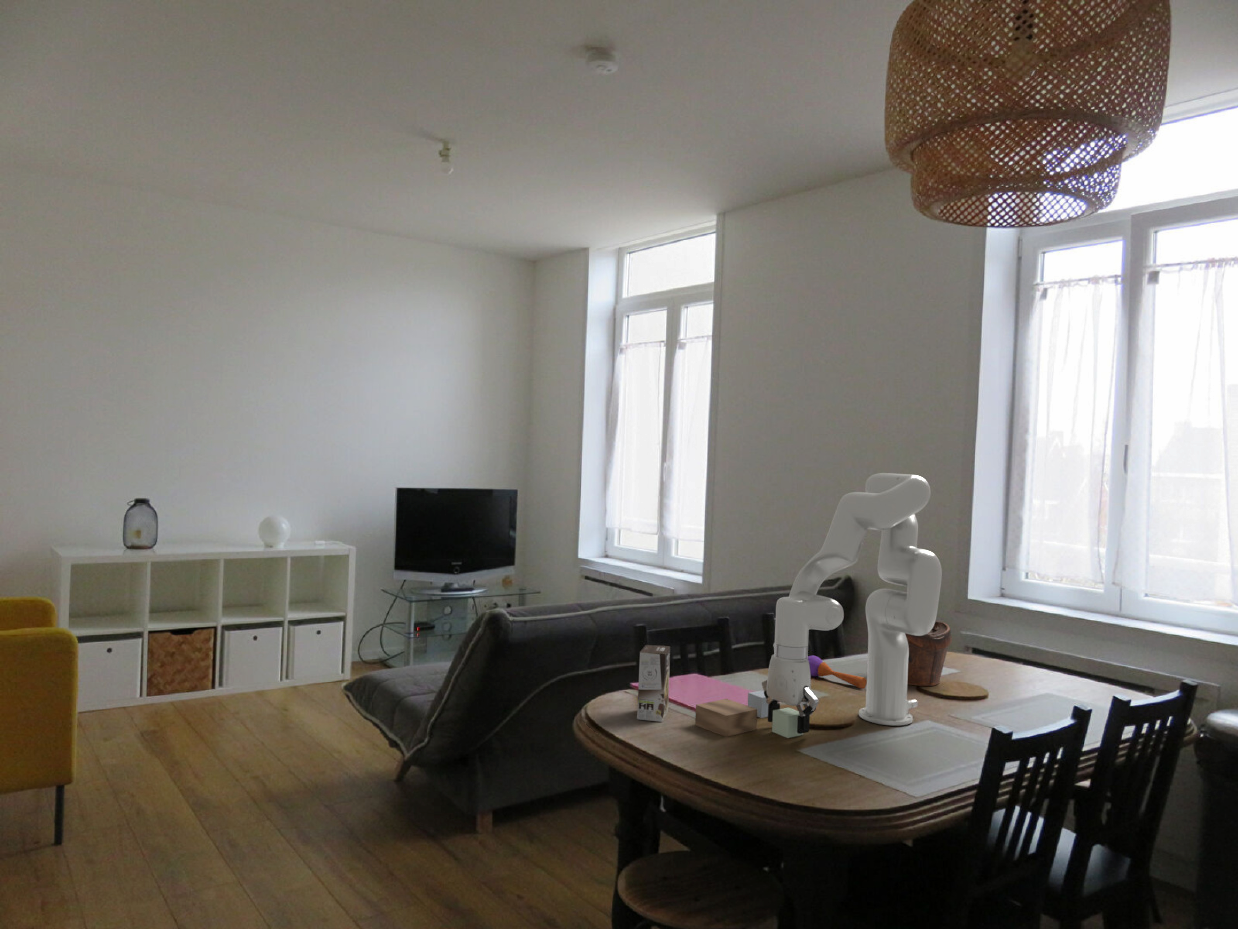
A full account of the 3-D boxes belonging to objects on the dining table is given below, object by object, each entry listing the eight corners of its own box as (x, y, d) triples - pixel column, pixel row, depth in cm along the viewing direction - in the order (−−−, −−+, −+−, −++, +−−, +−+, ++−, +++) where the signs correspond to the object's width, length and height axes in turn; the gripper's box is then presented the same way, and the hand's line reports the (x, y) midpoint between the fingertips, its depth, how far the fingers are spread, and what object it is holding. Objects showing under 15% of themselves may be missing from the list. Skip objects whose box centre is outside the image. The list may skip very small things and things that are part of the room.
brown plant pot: (957, 678, 260) (958, 617, 260) (941, 693, 243) (943, 628, 243) (895, 669, 270) (897, 610, 269) (876, 683, 253) (877, 620, 253)
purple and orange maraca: (856, 677, 243) (798, 656, 258) (856, 697, 244) (798, 676, 259) (869, 670, 246) (811, 650, 261) (869, 690, 248) (811, 669, 263)
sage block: (787, 729, 207) (788, 707, 207) (803, 735, 203) (804, 713, 202) (772, 732, 204) (772, 710, 204) (787, 738, 200) (788, 716, 200)
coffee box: (663, 722, 208) (665, 653, 208) (636, 720, 209) (638, 651, 209) (669, 711, 217) (671, 645, 216) (643, 709, 218) (645, 643, 218)
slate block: (762, 710, 221) (763, 690, 221) (776, 715, 217) (777, 695, 217) (747, 713, 218) (748, 692, 218) (761, 718, 214) (762, 697, 214)
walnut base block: (725, 719, 213) (726, 698, 213) (756, 730, 205) (757, 709, 205) (695, 726, 207) (695, 704, 207) (725, 738, 199) (726, 715, 199)
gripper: (752, 645, 208) (750, 719, 208) (806, 662, 194) (803, 740, 194) (776, 642, 212) (773, 714, 212) (831, 658, 198) (827, 735, 198)
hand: (788, 726), depth 203 cm, fingers open, 9 cm apart
